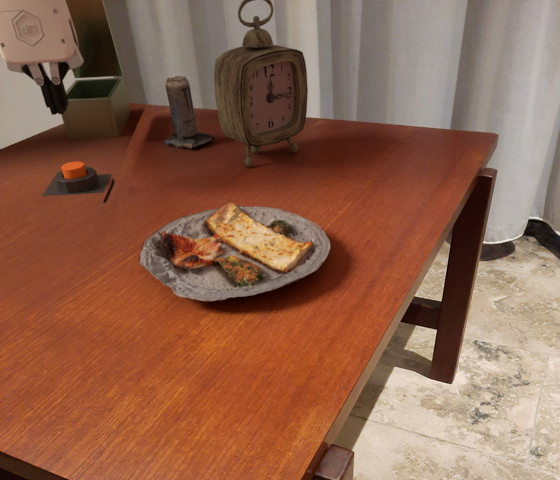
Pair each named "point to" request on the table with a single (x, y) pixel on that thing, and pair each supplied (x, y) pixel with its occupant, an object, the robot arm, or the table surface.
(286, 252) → the food plate
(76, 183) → the panel
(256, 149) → the tabletop clock
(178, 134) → the beverage can
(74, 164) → the button
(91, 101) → the machine
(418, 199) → the table surface
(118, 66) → the lid
